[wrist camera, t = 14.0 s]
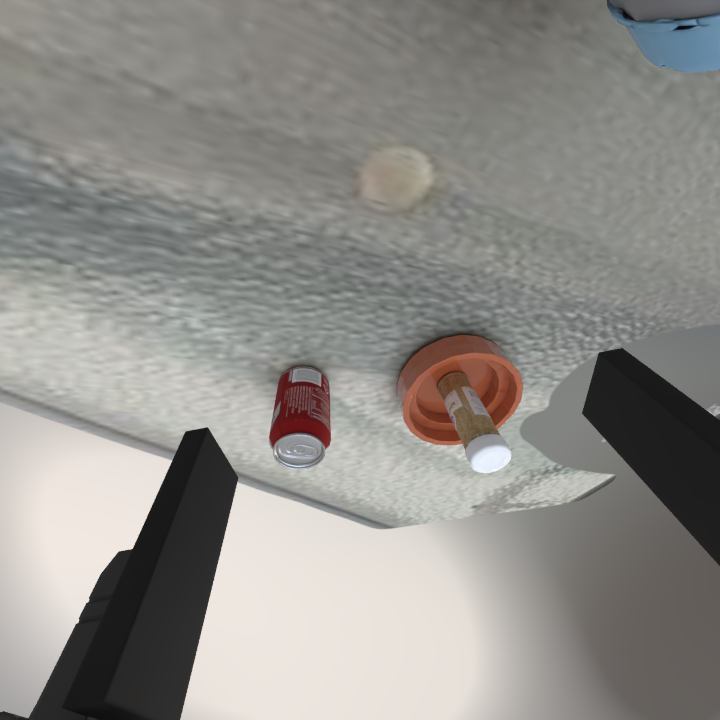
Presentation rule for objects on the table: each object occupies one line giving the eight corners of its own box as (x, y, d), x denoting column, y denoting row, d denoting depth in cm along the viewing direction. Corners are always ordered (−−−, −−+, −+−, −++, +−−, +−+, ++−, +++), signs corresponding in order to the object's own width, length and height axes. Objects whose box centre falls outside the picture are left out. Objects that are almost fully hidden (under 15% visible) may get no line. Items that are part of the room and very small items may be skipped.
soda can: (289, 356, 44) (280, 423, 34) (337, 373, 46) (341, 440, 36) (271, 393, 47) (258, 464, 37) (317, 408, 49) (315, 478, 39)
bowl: (464, 309, 42) (480, 328, 38) (525, 376, 49) (544, 399, 45) (373, 384, 48) (378, 408, 44) (440, 435, 55) (449, 460, 51)
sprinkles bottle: (431, 380, 47) (464, 458, 36) (461, 365, 46) (506, 440, 35) (444, 401, 50) (479, 480, 39) (473, 387, 49) (518, 463, 37)
